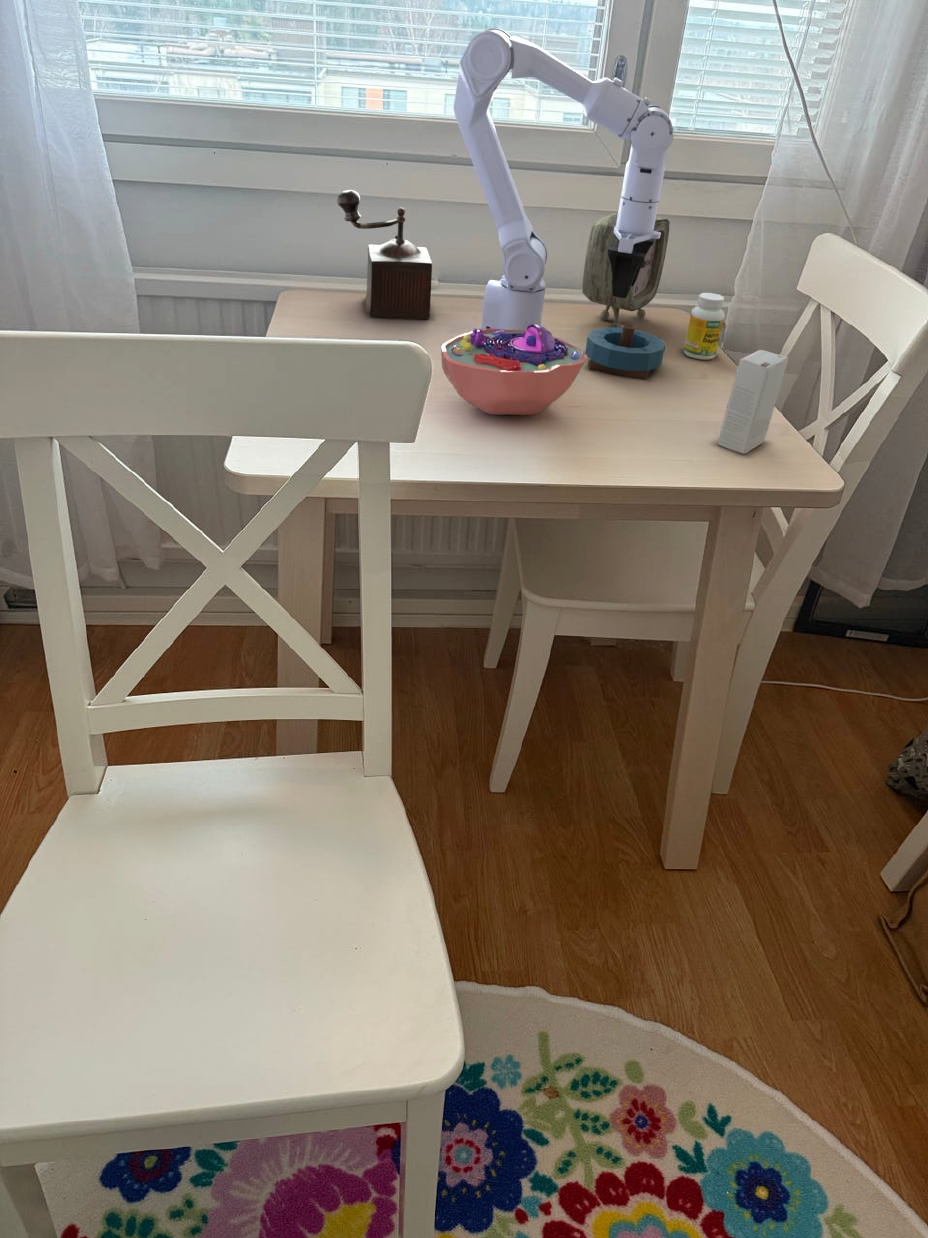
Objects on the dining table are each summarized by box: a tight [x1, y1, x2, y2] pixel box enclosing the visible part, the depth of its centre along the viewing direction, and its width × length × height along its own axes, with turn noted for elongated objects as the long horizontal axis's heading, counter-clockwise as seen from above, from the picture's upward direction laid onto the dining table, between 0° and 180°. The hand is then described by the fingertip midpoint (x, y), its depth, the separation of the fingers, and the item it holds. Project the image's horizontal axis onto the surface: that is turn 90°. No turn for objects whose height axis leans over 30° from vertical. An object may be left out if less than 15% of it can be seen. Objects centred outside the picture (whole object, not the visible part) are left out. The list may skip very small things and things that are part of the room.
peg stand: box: [588, 324, 651, 380], centre depth 151 cm, size 9×9×6 cm
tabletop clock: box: [581, 211, 671, 328], centre depth 165 cm, size 14×9×25 cm, turn 148°
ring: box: [584, 327, 666, 371], centre depth 152 cm, size 12×12×3 cm
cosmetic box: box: [717, 349, 789, 455], centre depth 127 cm, size 6×4×12 cm
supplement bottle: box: [683, 292, 726, 361], centre depth 158 cm, size 5×5×10 cm
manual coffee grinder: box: [336, 189, 433, 320], centre depth 162 cm, size 16×11×18 cm
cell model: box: [440, 324, 588, 416], centre depth 131 cm, size 17×20×11 cm
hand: (623, 290), depth 152 cm, fingers open, 7 cm apart
